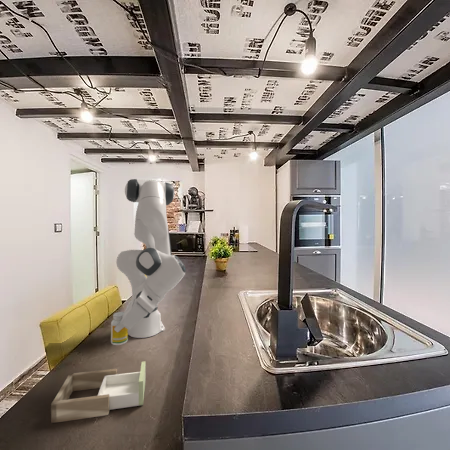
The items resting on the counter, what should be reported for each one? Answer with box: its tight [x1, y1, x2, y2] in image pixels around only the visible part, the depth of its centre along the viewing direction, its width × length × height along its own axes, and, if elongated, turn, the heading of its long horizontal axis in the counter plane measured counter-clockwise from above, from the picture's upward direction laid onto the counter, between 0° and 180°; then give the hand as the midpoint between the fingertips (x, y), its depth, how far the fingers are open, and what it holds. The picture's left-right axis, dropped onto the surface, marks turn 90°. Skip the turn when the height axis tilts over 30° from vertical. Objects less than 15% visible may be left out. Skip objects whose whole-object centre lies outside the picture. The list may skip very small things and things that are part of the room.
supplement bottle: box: [110, 311, 129, 346], centre depth 89 cm, size 5×5×10 cm
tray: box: [97, 360, 147, 411], centre depth 80 cm, size 11×12×7 cm
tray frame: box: [50, 368, 118, 424], centre depth 78 cm, size 14×14×5 cm
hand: (117, 326), depth 89 cm, fingers closed on supplement bottle, 5 cm apart
